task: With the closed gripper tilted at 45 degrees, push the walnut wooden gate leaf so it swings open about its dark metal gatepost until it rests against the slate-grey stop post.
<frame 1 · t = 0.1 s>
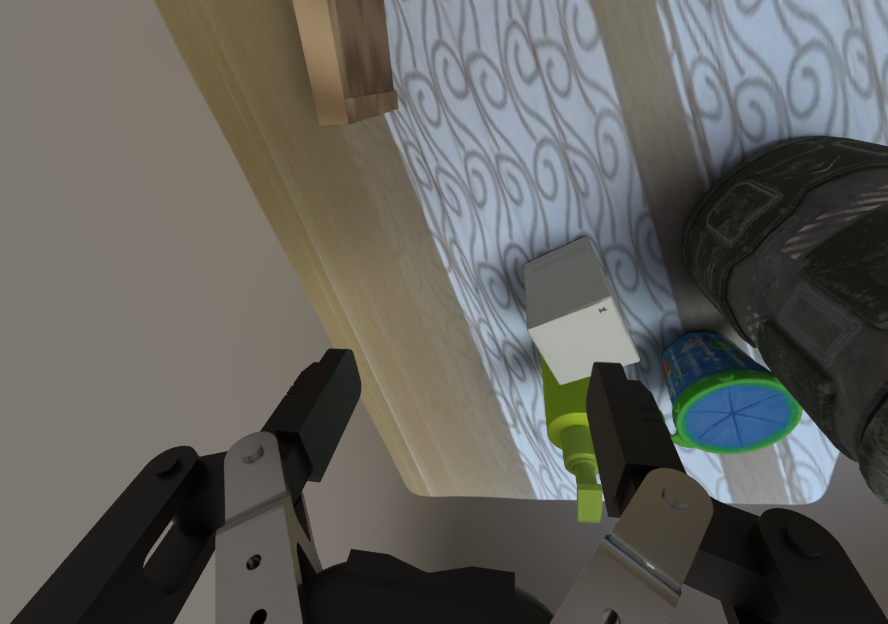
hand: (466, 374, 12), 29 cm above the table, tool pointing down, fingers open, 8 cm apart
canister: (769, 224, 35), on the table
soap dispenser: (563, 352, 47), on the table
snack cup: (694, 352, 44), on the table
supplement box: (566, 275, 41), on the table
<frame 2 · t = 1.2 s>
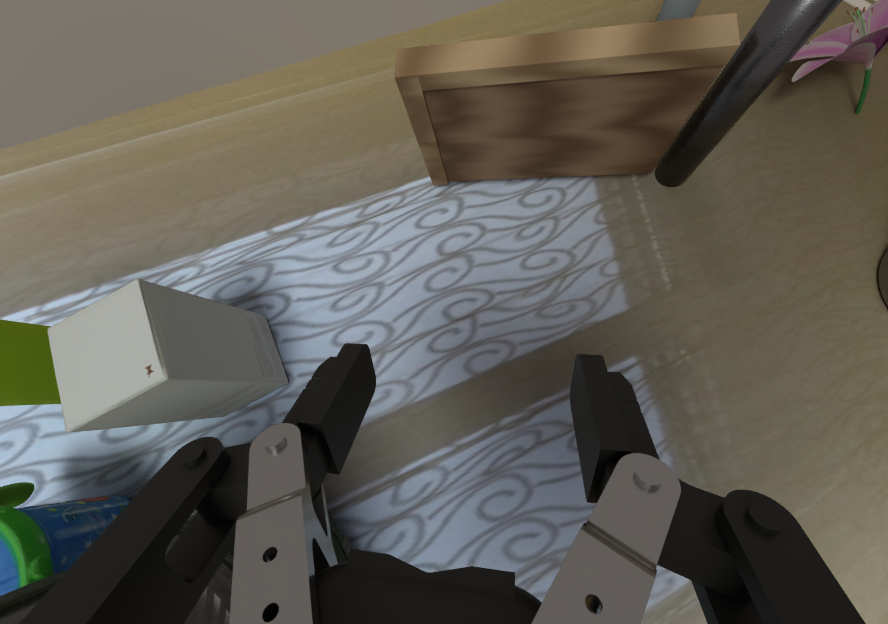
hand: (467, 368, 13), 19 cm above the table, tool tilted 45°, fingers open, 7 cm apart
gatepost: (671, 173, 32), on the table
gate: (543, 122, 26), point 7 cm above the table, hinge at 0.0°
canister: (276, 588, 30), on the table
lily: (812, 83, 31), on the table
soap dispenser: (145, 370, 36), on the table
snack cup: (120, 538, 33), on the table
supplement box: (246, 365, 35), on the table
stop post: (648, 73, 34), on the table
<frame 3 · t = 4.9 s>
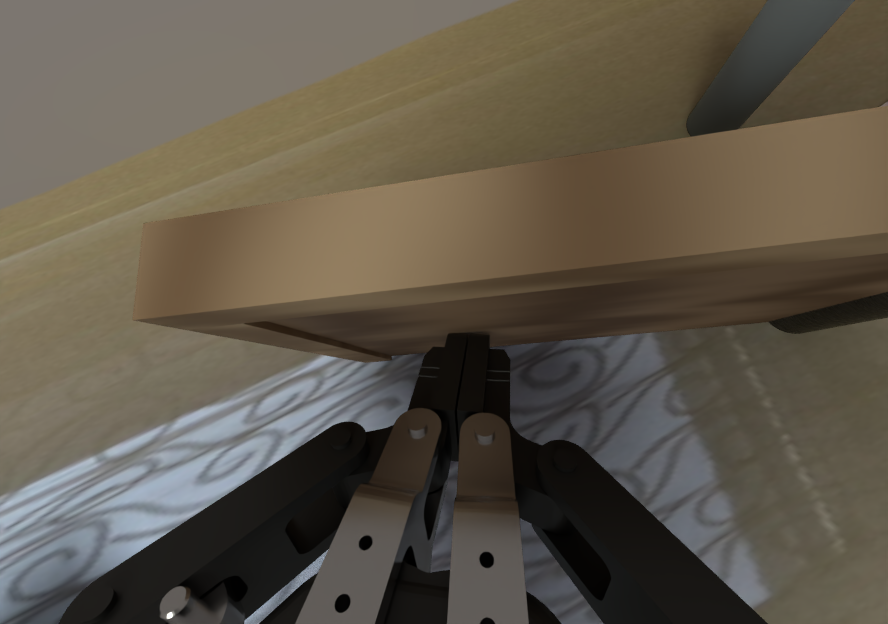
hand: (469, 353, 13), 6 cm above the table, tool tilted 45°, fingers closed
gatepost: (791, 306, 17), on the table
gate: (569, 294, 12), point 7 cm above the table, hinge at 0.7°, touching gripper
stop post: (711, 124, 20), on the table
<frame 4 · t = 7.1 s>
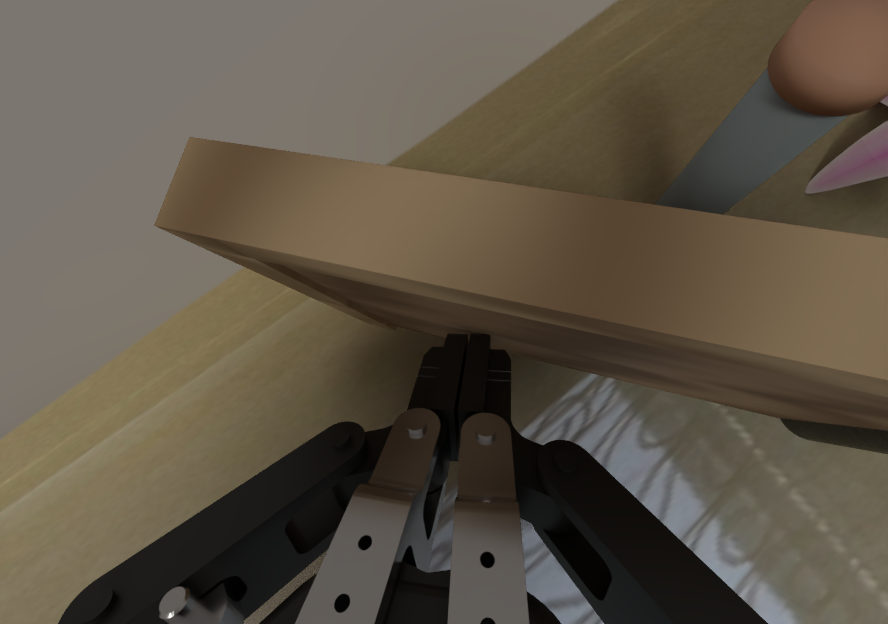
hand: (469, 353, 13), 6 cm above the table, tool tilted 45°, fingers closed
gatepost: (810, 410, 16), on the table
gate: (579, 327, 11), point 7 cm above the table, hinge at 36.3°, touching gripper
stop post: (666, 228, 19), on the table
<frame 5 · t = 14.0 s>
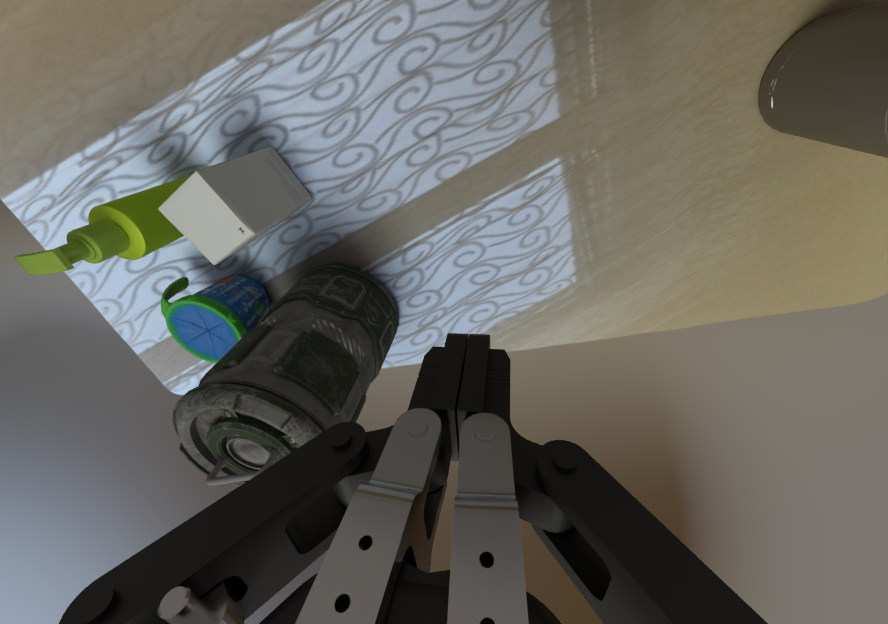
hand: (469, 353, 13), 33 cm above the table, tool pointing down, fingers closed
canister: (349, 308, 55), on the table
soap dispenser: (202, 197, 49), on the table
snack cup: (249, 294, 57), on the table
supplement box: (275, 187, 46), on the table
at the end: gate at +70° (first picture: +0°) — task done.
